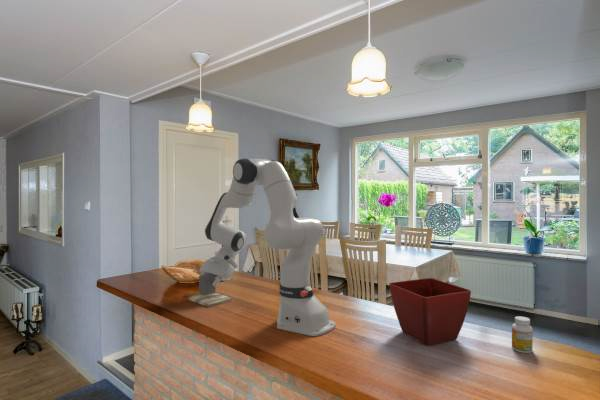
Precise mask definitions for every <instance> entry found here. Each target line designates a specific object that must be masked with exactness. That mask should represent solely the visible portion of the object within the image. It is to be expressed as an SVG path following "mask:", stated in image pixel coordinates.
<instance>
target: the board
mask: <svg viewBox="0 0 600 400" xmlns="http://www.w3.org/2000/svg"><path fill="white" fill-rule="evenodd" d="M232 299H233V298H232V297H230V296H227V295H223V294H221V293H217V292H215V294H213V295H209V296H205V297H203V296H200V295H199V294H195V295H191V296H189V297H187V300H188V301H191V302H193V303H195V304H199V305H202V306H205V307H206V308H207V307H208V308H211V307H214V306H218V305H221V304H225V303H228V302H231V301H232Z"/></svg>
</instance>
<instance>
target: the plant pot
mask: <svg viewBox="0 0 600 400" xmlns="http://www.w3.org/2000/svg"><path fill="white" fill-rule="evenodd" d="M388 285H389V286H388V287H389V291H390V295H391V296H390V297H391V300H392V305H393V309H394V312H395V315H396V318H397V320H398V324H399V326H400V328H401V331H402V333H404V334H406V335H408V337H410V338H413V339H414V340H416V341H418V342H419V343H421V344H423V345H425V346H431V345H432V346H433V345H436V344H442V343H447V342H452V341H456V340H457V339H458V338H459V337H458V336H459V334H460V332H461V329H462V328H463V326H464V323H465V319H466V316H467V312H468V308H469V304H470V300H471V295H472V290H471V289H468V288H465V287H461V286H458V285H455V284H453V283H452V284H451V283H449V282H446V281H442V280H439V279H436V278H432V277H428V278H419V279H417V278H416V279H409V280H401V281H396V282H390V283H389V284H388Z"/></svg>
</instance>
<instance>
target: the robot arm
mask: <svg viewBox="0 0 600 400" xmlns="http://www.w3.org/2000/svg"><path fill="white" fill-rule="evenodd" d="M232 175H233V177H232V180H231V184H230V187H229V190H228V191H227V192H224V193H222V195H221V196H220V197H219V199H218V202H217V203H216V206H215V208H214V209H213V212H212V214H211V216H210V219H209V221H208V223H207V225H206V227H205V228H204V234H205V236H206V239H207V240H208V241H209V240H210V241H212V242H215V243H217V244H219V245H220V246H221V248H219V249H218V250H217V251H218V252H217V251H216V252H217V254H216V255H215V254H214V257H213V256H212V257H210V258H208V259H206V260H205V261H204V262H203V264H201V266H200V267H199V272H200V273H201V274H200V275H205V274H209V273H210V274H214V275H215V280H214V281H212V283H211V285H212V286H215V287H216V286H217V284H218V283H220V282H221V280H222V279H224V280H226V281H229V280H230V279H231V277H232V276H233V274H234V272H235V271H236V269H237V268H238V267H239V264H238V263H237V262H236V261H235V259H236V258H237V255H239V254H240V252H241V250H242V249H243V247H244V246H245V243H246V241H247V237H248V236H247V234H246V233H245V232H244V231H242V230H241V229H237V228H234V227H233V226H230V225H228V224H226V223H224V222H223V220H222V219H223V218H224V216H225V213H226V210H227V208H228V209H231V208H232V209H241V208H244V207H247V206H249V205H250V204H251V203H252V202H253V199H254V197H255V192H256V188H257V186H262V187H263V189H264V190H263V191H264V193H265V195H266V199H267V202H268V205H269V209H270V217H269V221H268V223H267V224H266V225H265V228H264V231H263V238H264V241H265V243H266V245H267V246H268V247H269V248H271V249H276V250H288V249H289V251H288V254H287V255H286V256H285V258H284V259H283V260H282V261H281V263H280V284H279V286H278V290H279V291H278V292H279V295H280V296H279V297H280V300H279V306H278V314H277V318H276V329H278V330H282V331H288V332H292V333H296V334H301V335H303V336H309V337H318V336H321V335H324V334H327V333H329V332H331V331H333V329H334V328H336V322H335V321H333V320H331V319H330V315H329V311H328V308H327V307H326V306H325V305H324V304H323V303H322V302H321V301H320V299H318V298H317V297H316V296H315V293H314V292H315V291H317V290H316V287H312V284H311V264H312V263H311V262H312V258H313V255H314V252H315V249H316V248H317V245H318V244H319V242H321V240H323V239H322V238H323V236H324V226H323V224H322V222H321V221H320V220H319V219H318V218H314V217H308V216H305V217H295V215H294V208H296V206H297V204H298V197H297V193H296V190H295V188H294V185H293V183H292V180H291V178H290V176H289V174H288V172H287V171H286V169H285V167H284V165H283V164H282V163H281V162H280V161H278V160H274V159H264V158H259V157H258V158H241V159H238V160H236V161H235V163H234V165H233V167H232ZM222 245H223V247H222ZM229 278H230V279H229ZM228 279H229V280H228Z"/></svg>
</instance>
